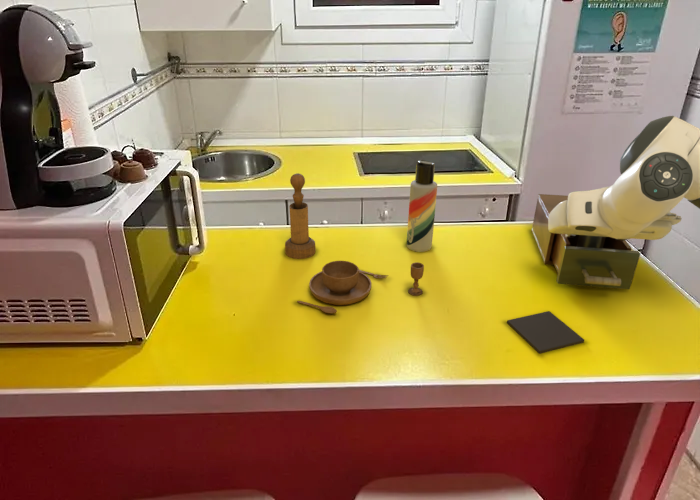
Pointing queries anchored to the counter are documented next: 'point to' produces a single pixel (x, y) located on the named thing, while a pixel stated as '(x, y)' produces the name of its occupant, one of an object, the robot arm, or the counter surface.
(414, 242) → the lotion bottle
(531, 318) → the mat
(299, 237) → the mortar and pestle
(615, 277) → the drawer
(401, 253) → the counter surface
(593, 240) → the spice jar
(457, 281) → the counter surface
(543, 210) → the cabinet
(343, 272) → the place setting
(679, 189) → the robot arm
